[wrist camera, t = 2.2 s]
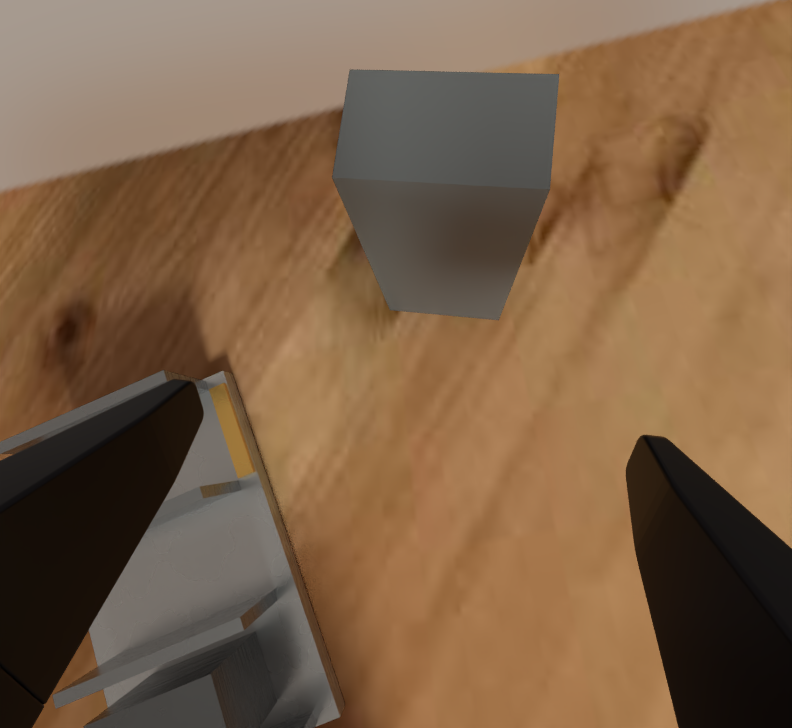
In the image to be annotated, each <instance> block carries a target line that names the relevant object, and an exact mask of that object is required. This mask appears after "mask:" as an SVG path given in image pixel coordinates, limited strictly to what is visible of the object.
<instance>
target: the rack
mask: <svg viewBox="0 0 792 728" xmlns="http://www.w3.org/2000/svg"><path fill="white" fill-rule="evenodd" d="M172 379H182V380H190V381H193V382H194V383H195V384H196V387H197V390H198V393H199V396H200V400H201V403H202V406H203V410H204V417H203V420H202V423H201V425H200V428H199V430H198V432H197V434H196V436H195V439H194V441H193V443H192V445H191V448H190V450H189V452H188V454H187V457H186V459H185V461H184V463H183V465H182V468H181V470H180V472H179V474H178V476H177V478H176V480H175V482H174V484H173V486H172V488H171V489H170V491H169V493H168V495H167V496H166V498H165V500H164V502H163V503H162V505H161V507H160V508H159V510H158V512H157V514H156V515H155V517H154V519H153V520H152V522H151V524H150V526H149V527H148V529H147V531H146V532H145V534H144V536H143V538H142V539H141V541H140V543H139V544H138V546H137V548H136V550H135V551H134V553H133V555H132V556H131V558H130V560H129V562H128V563H127V565H126V567H125V568H124V570H123V572H122V574H121V575H120V577H119V579H118V580H117V582H116V584H115V586H114V587H113V589H112V591H111V592H110V594H109V596H108V598H107V599H106V601H105V603H104V604H103V606H102V608H101V610H100V611H99V613H98V615H97V616H96V618H95V620H94V622H93V623H92V625H91V627H90V628H89V632H90V636H91V640H92V644H93V649H94V653H95V657H96V661H97V665H98V667H97V668H95V669H93V670H92V671H90V672H89V673H87V674H85V675H84V676H82V677H81V678H79V679H78V680H76V681H74V682H73V683H71V684H70V685H68V686H66V687H65V688H63V689H62V690H60V691H58V692H57V693H55V694H54V695H53V699H54V704H55V708H59V707H61V706H63V705H66V704H68V703H71V702H73V701H76V700H78V699H80V698H83V697H85V696H88V695H90V694H92V693H95V692H97V691H100V690H102V689H103V690H104V694H105V698H106V702H107V706H108V708H107V709H106V710H104V711H103V712H102V713H100V714H99V715H98V716H97V717H95V718H94V719H93V720H91V721H90V722H89V723H87V724H86V725H85V726H84V728H315V727H317V726H319V725H322V724H324V723H327V722H329V721H332V720H334V719H336V718H339V717H340V716H341V714H342V711H343V709H344V706H345V702H344V699H343V696H342V693H341V690H340V687H339V685H338V682H337V679H336V676H335V673H334V670H333V667H332V664H331V661H330V658H329V655H328V652H327V649H326V647H325V644H324V641H323V638H322V635H321V632H320V629H319V626H318V623H317V620H316V617H315V614H314V611H313V609H312V606H311V603H310V600H309V597H308V594H307V591H306V588H305V585H304V582H303V579H302V576H301V573H300V571H299V568H298V565H297V562H296V559H295V556H294V553H293V550H292V547H291V544H290V541H289V538H288V535H287V533H286V530H285V527H284V524H283V521H282V518H281V515H280V512H279V509H278V506H277V503H276V500H275V497H274V495H273V492H272V489H271V486H270V483H269V480H268V477H267V474H266V471H265V468H264V465H263V462H262V459H261V457H260V454H259V451H258V448H257V445H256V442H255V439H254V436H253V433H252V430H251V427H250V424H249V421H248V419H247V416H246V413H245V410H244V407H243V404H242V401H241V398H240V395H239V392H238V389H237V386H236V383H235V380H234V378H233V375H232V373H229V372H226V371H221V372H219V373H216V374H214V375H212V376H210V377H207V378H205V379H203V380H199V379H195V378H192V377H188V376H184V375H180V374H177V373H173V372H169V371H165V370H162V371H160V372H158V373H156V374H153V375H151V376H149V377H147V378H144V379H142V380H140V381H138V382H135V383H133V384H131V385H128V386H126V387H124V388H122V389H119V390H117V391H115V392H113V393H110V394H108V395H106V396H103V397H101V398H99V399H97V400H94V401H92V402H90V403H88V404H85V405H83V406H81V407H79V408H76V409H74V410H72V411H69V412H67V413H65V414H63V415H60V416H58V417H56V418H54V419H51V420H49V421H47V422H44V423H42V424H40V425H38V426H35V427H33V428H31V429H29V430H26V431H24V432H22V433H20V434H17V435H15V436H13V437H10V438H8V439H6V440H4V441H1V442H0V454H16V453H18V452H20V451H22V450H24V449H26V448H28V447H30V446H33V445H35V444H37V443H39V442H41V441H43V440H45V439H47V438H50V437H52V436H54V435H56V434H58V433H60V432H62V431H64V430H66V429H69V428H71V427H73V426H75V425H77V424H79V423H81V422H83V421H85V420H88V419H90V418H92V417H94V416H96V415H98V414H100V413H102V412H104V411H107V410H109V409H111V408H113V407H115V406H117V405H119V404H121V403H124V402H126V401H128V400H130V399H132V398H134V397H136V396H138V395H140V394H143V393H145V392H147V391H149V390H151V389H153V388H155V387H157V386H159V385H162V384H164V383H166V382H168V381H170V380H172Z"/></svg>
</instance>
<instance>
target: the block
mask: <svg viewBox="0 0 792 728" xmlns="http://www.w3.org/2000/svg"><path fill="white" fill-rule="evenodd" d="M558 83H559V74H523V73H479V72H434V71H391V70H389V71H388V70H350V72H349V78H348V84H347V90H346V96H345V102H344V108H343V114H342V120H341V127H340V133H339V139H338V145H337V151H336V157H335V163H334V169H333V176H332V178H333V181H334V183H335V185H336V187H337V190H338V192H339V194H340V197H341V199H342V201H343V203H344V206H345V208H346V210H347V213H348V215H349V217H350V219H351V222H352V224H353V226H354V229H355V231H356V233H357V235H358V238H359V240H360V242H361V245H362V247H363V249H364V251H365V254H366V256H367V258H368V261H369V263H370V265H371V267H372V270H373V272H374V274H375V277H376V279H377V281H378V283H379V286H380V288H381V290H382V293H383V295H384V297H385V299H386V302H387V304H388V306H389V309H390V310H396V311H406V312H417V313H428V314H439V315H449V316H460V317H471V318H482V319H492V320H499V318H500V315H501V313H502V310H503V308H504V305H505V303H506V300H507V297H508V295H509V292H510V290H511V287H512V285H513V282H514V280H515V277H516V274H517V272H518V269H519V267H520V264H521V262H522V259H523V257H524V254H525V252H526V249H527V246H528V244H529V241H530V239H531V236H532V234H533V231H534V229H535V226H536V223H537V221H538V218H539V216H540V213H541V211H542V208H543V206H544V203H545V200H546V198H547V195H548V193H549V190H550V181H551V168H552V156H553V144H554V132H555V119H556V107H557V95H558Z"/></svg>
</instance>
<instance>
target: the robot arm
mask: <svg viewBox="0 0 792 728" xmlns="http://www.w3.org/2000/svg"><path fill="white" fill-rule="evenodd" d="M203 417H204V410H203V406H202V403H201V400H200V396H199V393H198V390H197V387H196V384H195V383H194V382H193V381H190V380H182V379H172V380H170V381H168V382H166V383H164V384H162V385H159V386H157V387H155V388H153V389H151V390H149V391H147V392H145V393H143V394H140V395H138V396H136V397H134V398H132V399H130V400H128V401H126V402H124V403H121V404H119V405H117V406H115V407H113V408H111V409H109V410H107V411H104V412H102V413H100V414H98V415H96V416H94V417H92V418H90V419H88V420H85V421H83V422H81V423H79V424H77V425H75V426H73V427H71V428H69V429H66V430H64V431H62V432H60V433H58V434H56V435H54V436H52V437H50V438H47V439H45V440H43V441H41V442H39V443H37V444H35V445H33V446H30V447H28V448H26V449H24V450H22V451H20V452H18V453H16V454H14V455H11V456H9V457H7V458H5V459H3V460H1V461H0V728H32V727H33V725H34V723H35V722H36V720H37V718H38V716H39V715H40V713H41V711H42V710H43V708H44V705H43V704H45V703H46V702H47V700H48V699H49V697H50V695H51V694H52V692H53V690H54V688H55V687H56V685H57V683H58V682H59V680H60V678H61V676H62V675H63V673H64V671H65V670H66V668H67V666H68V664H69V663H70V661H71V659H72V658H73V656H74V654H75V652H76V651H77V649H78V647H79V646H80V644H81V642H82V640H83V639H84V637H85V635H86V634H87V632H88V630H89V628H90V627H91V625H92V623H93V622H94V620H95V618H96V616H97V615H98V613H99V611H100V610H101V608H102V606H103V604H104V603H105V601H106V599H107V598H108V596H109V594H110V592H111V591H112V589H113V587H114V586H115V584H116V582H117V580H118V579H119V577H120V575H121V574H122V572H123V570H124V568H125V567H126V565H127V563H128V562H129V560H130V558H131V556H132V555H133V553H134V551H135V550H136V548H137V546H138V544H139V543H140V541H141V539H142V538H143V536H144V534H145V532H146V531H147V529H148V527H149V526H150V524H151V522H152V520H153V519H154V517H155V515H156V514H157V512H158V510H159V508H160V507H161V505H162V503H163V502H164V500H165V498H166V496H167V495H168V493H169V491H170V489H171V488H172V486H173V484H174V482H175V480H176V478H177V476H178V474H179V472H180V470H181V468H182V465H183V463H184V461H185V459H186V457H187V454H188V452H189V450H190V448H191V445H192V443H193V441H194V439H195V436H196V434H197V432H198V430H199V428H200V425H201V423H202V420H203ZM626 482H627V490H628V498H629V507H630V515H631V523H632V531H633V539H634V546H635V552H636V557H637V561H638V566H639V570H640V574H641V578H642V582H643V586H644V590H645V594H646V598H647V602H648V606H649V610H650V614H651V618H652V622H653V626H654V630H655V634H656V638H657V642H658V646H659V651H660V655H661V659H662V663H663V667H664V671H665V675H666V679H667V683H668V687H669V691H670V695H671V699H672V703H673V707H674V711H675V715H676V719H677V723H678V727H679V728H792V549H791V548H790V547H789V546H788V545H787V544H786V543H785V542H784V541H782V540H781V539H780V538H779V537H778V536H777V535H776V534H775V533H773V532H772V531H771V530H770V529H769V528H768V527H767V526H765V525H764V524H763V523H762V522H761V521H760V520H759V519H758V518H756V517H755V516H754V515H753V514H752V513H751V512H750V511H749V510H747V509H746V508H745V507H744V506H743V505H742V504H741V503H740V502H738V501H737V500H736V499H735V498H734V497H733V496H732V495H730V494H729V493H728V492H727V491H726V490H725V489H724V488H723V487H721V486H720V485H719V484H718V483H717V482H716V481H715V480H714V479H712V478H711V477H710V476H709V475H708V474H707V473H706V472H704V471H703V470H702V469H701V468H700V467H699V466H698V465H697V464H695V463H694V462H693V461H692V460H691V459H690V458H689V457H688V456H686V455H685V454H684V453H683V452H682V451H681V450H680V449H678V448H677V447H676V446H675V445H674V444H673V443H672V442H671V441H669V440H668V439H667V438H665V437H661V436H653V435H642V436H640V437H639V439H638V440H637V443H636V445H635V447H634V449H633V452H632V454H631V456H630V459H629V461H628V463H627V467H626Z"/></svg>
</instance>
